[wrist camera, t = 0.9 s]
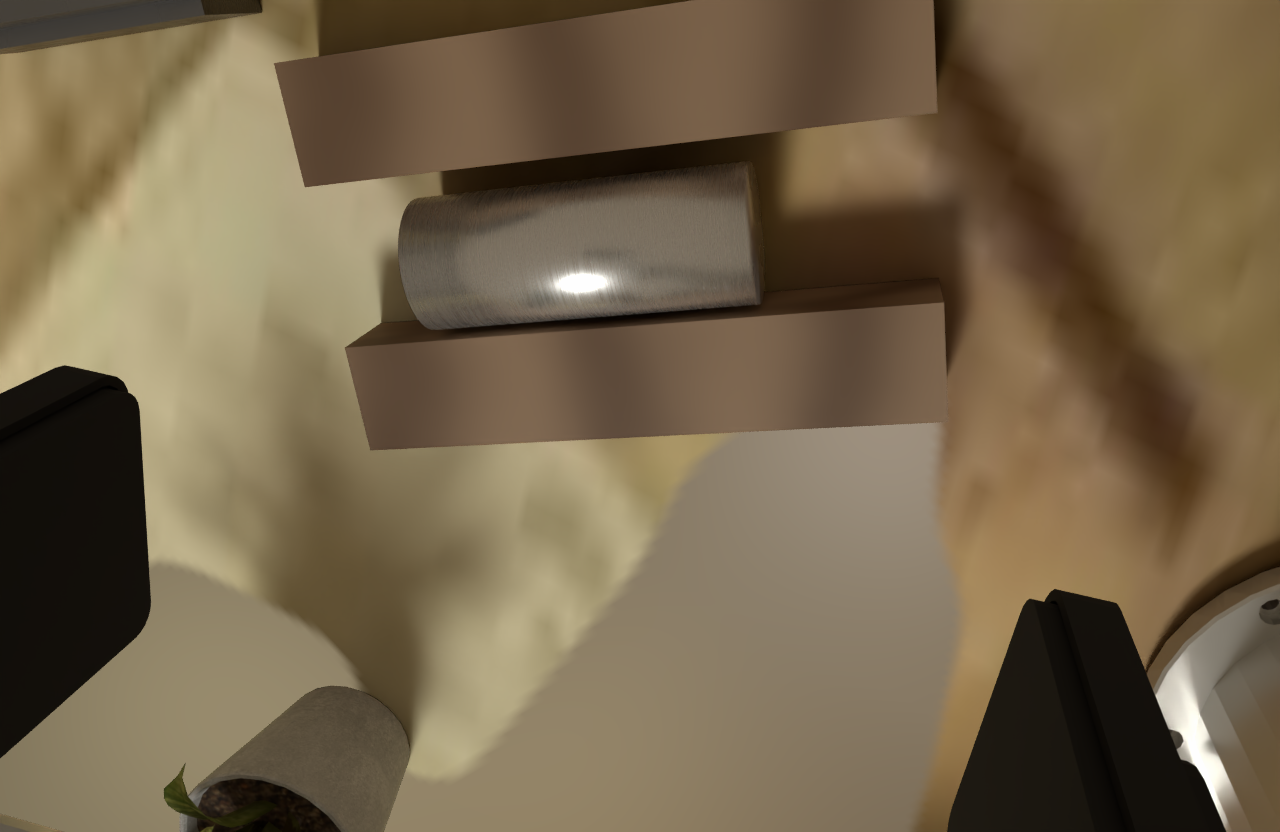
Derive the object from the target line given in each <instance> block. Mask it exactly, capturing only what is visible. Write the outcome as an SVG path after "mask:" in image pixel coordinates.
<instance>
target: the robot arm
mask: <svg viewBox="0 0 1280 832" xmlns="http://www.w3.org/2000/svg"><path fill="white" fill-rule="evenodd" d="M150 607H151V596H150V580H149V562H148V545H147V528H146V511H145V494H144V477H143V461H142V444H141V427H140V411H139V405H138V402H137V400H136V398H135V397H134V396H133V395H132V394H130V393H128V390H127V388H126V386H125V384H124V382H123V381H122V380H120V379H119V378H118V377H115V376H111V375H106V374H102V373H97V372H93V371H89V370H84V369H80V368H75V367H70V366H65V365H64V366H60V367H57V368H54V369H52V370H50V371H48V372H46V373H43V374H41V375H39V376H37V377H35V378H33V379H31V380H29V381H26V382H24V383H22V384H20V385H18V386H16V387H14V388H12V389H10V390H7V391H5V392H3V393H1V394H0V758H1V757H2V756H3V755H5V754H6V753H7V752H8V751H9V750H10V749H11V748H12V747H14V745H16V744H17V743H18V742H19V741H20V740H21V739H22V738H24V737H25V736H26V735H27V734H28V733H29V732H30V731H32V730H33V729H34V728H35V727H36V726H37V725H38V724H39V723H41V722H42V721H43V720H44V719H45V718H46V717H47V716H48V715H50V713H52V712H53V711H54V710H55V709H56V708H57V707H59V706H60V705H61V704H62V703H63V702H64V701H65V700H66V699H67V698H68V697H70V696H71V695H72V694H73V693H74V692H75V691H76V690H78V689H79V688H80V687H81V686H82V685H83V684H84V683H85V682H87V681H88V680H89V679H90V678H91V677H92V676H93V675H94V674H96V673H97V672H98V671H99V670H100V669H101V668H102V667H103V666H105V665H106V664H107V663H108V662H109V661H110V660H111V659H112V658H114V657H115V656H116V655H117V654H118V653H119V652H120V651H121V650H123V649H124V648H125V647H126V646H127V645H128V644H129V643H130V642H132V641H133V640H134V639H135V638H136V637H137V635H139V633H140V632H141V631H142V629H143V627H144V626H145V624H146V621H147V619H148V616H149V612H150ZM0 832H62V831H59V830H56V829H52V828H49V827H45V826H42V825H39V824H35V823H31V822H28V821H24V820H21V819H17V818H14V817H10V816H7V815H3V814H0ZM947 832H1280V567H1277V568H1274V569H1271V570H1268V571H1265V572H1262V573H1260V574H1258V575H1256V576H1254V577H1252V578H1250V579H1248V580H1246V581H1244V582H1242V583H1240V584H1238V585H1236V586H1234V587H1232V588H1230V589H1228V590H1226V591H1224V592H1223V593H1221V594H1220V595H1218V596H1217V597H1216V598H1214V599H1213V600H1211V601H1210V602H1209V603H1207V604H1206V605H1205V606H1203V607H1202V608H1200V609H1199V610H1198V611H1196V612H1195V613H1193V614H1192V615H1191V616H1190V617H1189V618H1188V619H1187V620H1186V621H1185V622H1184V623H1183V624H1182V625H1181V627H1180V628H1179V629H1178V630H1177V631H1176V632H1175V633H1174V634H1173V635H1172V636H1171V637H1170V638H1169V639H1168V640H1167V641H1166V643H1165V644H1164V646H1163V647H1162V649H1161V651H1160V652H1159V654H1158V655H1157V657H1156V658H1155V660H1154V662H1153V663H1152V665H1151V666H1150V668H1149V670H1148V672H1147V674H1146V671H1145V669H1144V666H1143V664H1142V661H1141V659H1140V656H1139V654H1138V651H1137V649H1136V646H1135V644H1134V641H1133V639H1132V636H1131V634H1130V631H1129V629H1128V626H1127V624H1126V621H1125V619H1124V616H1123V614H1122V611H1121V609H1120V608H1119V606H1118V605H1117V603H1114V602H1110V601H1105V600H1101V599H1096V598H1092V597H1088V596H1083V595H1079V594H1074V593H1070V592H1065V591H1061V590H1057V589H1054V590H1053V591H1051V592H1050V593H1049V595H1048V596H1047V598H1046V599H1045V602H1042V601H1038V600H1033V599H1029V600H1027V601H1026V603H1025V604H1024V606H1023V608H1022V611H1021V613H1020V616H1019V619H1018V622H1017V624H1016V627H1015V630H1014V633H1013V636H1012V639H1011V641H1010V644H1009V647H1008V650H1007V653H1006V656H1005V658H1004V661H1003V664H1002V667H1001V670H1000V673H999V676H998V678H997V681H996V684H995V687H994V690H993V693H992V695H991V698H990V701H989V704H988V707H987V710H986V713H985V715H984V718H983V721H982V724H981V727H980V730H979V732H978V735H977V738H976V741H975V744H974V747H973V749H972V752H971V755H970V758H969V761H968V764H967V767H966V769H965V772H964V775H963V778H962V781H961V784H960V786H959V789H958V792H957V795H956V798H955V801H954V804H953V806H952V810H951V813H950V818H949V823H948V830H947Z"/></svg>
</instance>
